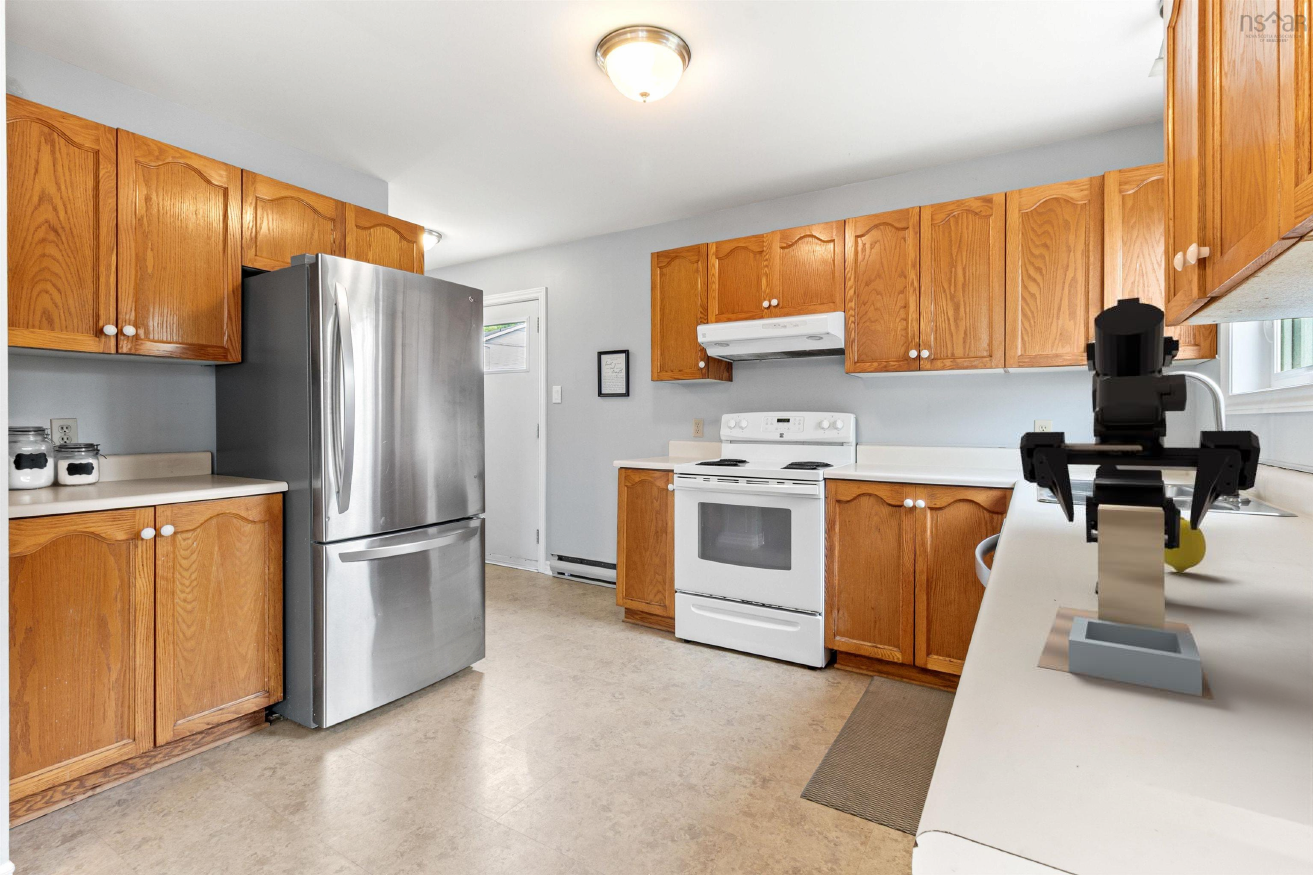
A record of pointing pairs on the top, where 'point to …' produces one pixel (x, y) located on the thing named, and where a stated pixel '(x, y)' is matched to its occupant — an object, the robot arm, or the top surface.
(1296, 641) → the top surface
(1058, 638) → the tan flat plate
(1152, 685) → the slate socket block
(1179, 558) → the lemon
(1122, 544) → the beech pillar
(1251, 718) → the top surface
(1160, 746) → the top surface
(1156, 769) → the top surface
